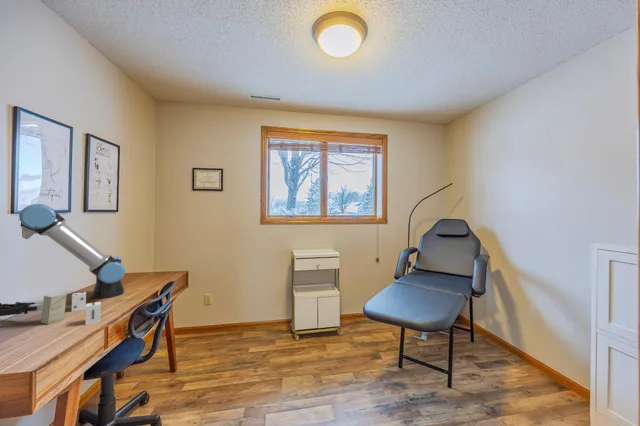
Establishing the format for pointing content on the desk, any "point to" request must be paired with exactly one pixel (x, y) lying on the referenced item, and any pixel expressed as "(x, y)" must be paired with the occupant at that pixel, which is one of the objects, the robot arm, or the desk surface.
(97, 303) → the marked block one
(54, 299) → the skincare box
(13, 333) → the desk surface
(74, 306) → the marked block two
